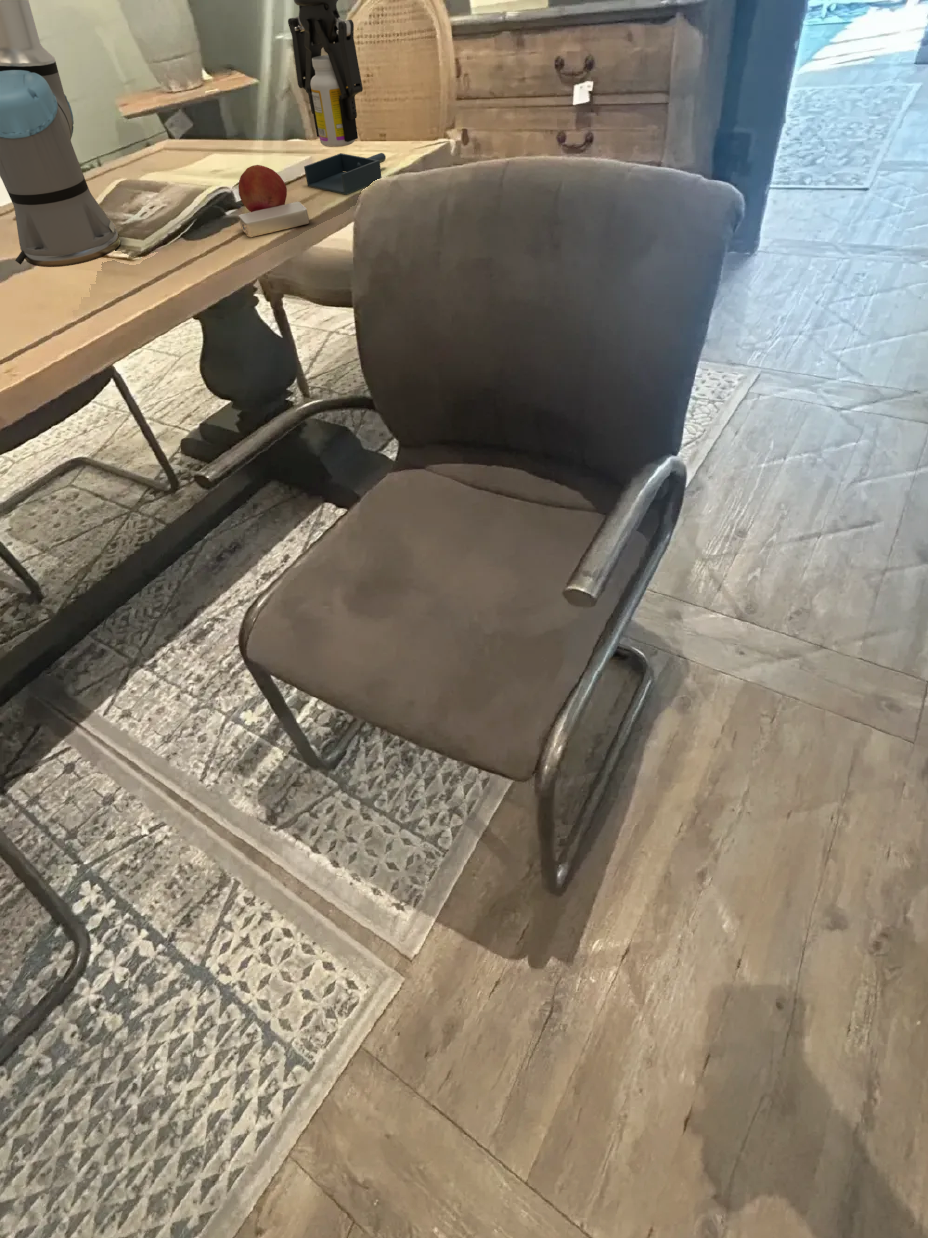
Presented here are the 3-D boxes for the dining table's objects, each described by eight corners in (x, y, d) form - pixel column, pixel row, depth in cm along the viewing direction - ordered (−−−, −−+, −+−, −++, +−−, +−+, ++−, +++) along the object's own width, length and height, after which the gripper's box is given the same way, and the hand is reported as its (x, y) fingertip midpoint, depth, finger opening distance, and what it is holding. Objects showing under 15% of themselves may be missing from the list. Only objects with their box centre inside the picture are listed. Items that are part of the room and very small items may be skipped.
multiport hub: (298, 201, 124) (301, 215, 126) (237, 214, 121) (241, 229, 123) (307, 209, 122) (310, 223, 124) (245, 223, 119) (249, 238, 120)
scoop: (346, 194, 134) (342, 174, 131) (307, 186, 139) (303, 166, 136) (404, 171, 143) (403, 151, 140) (366, 163, 147) (364, 144, 145)
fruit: (297, 182, 128) (292, 234, 127) (257, 186, 130) (251, 238, 129) (274, 148, 120) (268, 204, 119) (232, 154, 122) (226, 209, 121)
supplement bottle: (360, 138, 135) (349, 53, 126) (349, 148, 131) (336, 60, 122) (327, 138, 137) (314, 53, 127) (315, 148, 132) (300, 61, 123)
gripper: (371, -31, 114) (389, 138, 131) (288, -32, 123) (315, 126, 139) (338, -25, 110) (361, 149, 127) (255, -27, 119) (286, 136, 136)
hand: (337, 137), depth 133 cm, fingers closed on supplement bottle, 7 cm apart
